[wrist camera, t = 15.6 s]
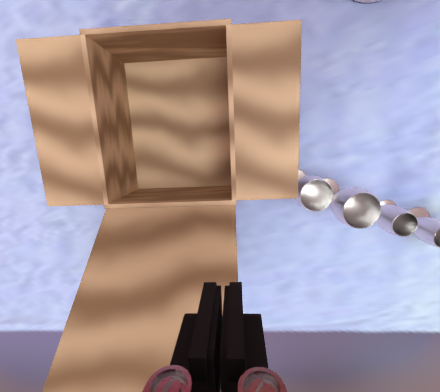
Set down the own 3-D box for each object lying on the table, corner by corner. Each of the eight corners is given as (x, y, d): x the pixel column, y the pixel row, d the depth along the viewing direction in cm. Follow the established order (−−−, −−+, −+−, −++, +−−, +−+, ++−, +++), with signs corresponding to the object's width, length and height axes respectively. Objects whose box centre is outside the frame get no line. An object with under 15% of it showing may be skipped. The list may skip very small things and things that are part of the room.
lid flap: (32, 418, 21) (37, 417, 22) (242, 420, 20) (242, 420, 21) (106, 208, 35) (108, 211, 35) (235, 204, 34) (235, 207, 34)
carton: (74, 63, 42) (14, 33, 31) (281, 50, 41) (301, 13, 29) (94, 193, 47) (48, 210, 35) (280, 186, 45) (297, 202, 33)
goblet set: (276, 192, 46) (294, 213, 33) (287, 161, 44) (310, 170, 31) (423, 239, 46) (498, 277, 33) (438, 209, 45) (522, 237, 32)
